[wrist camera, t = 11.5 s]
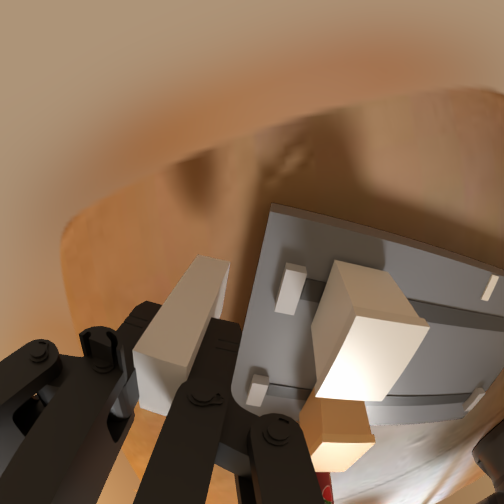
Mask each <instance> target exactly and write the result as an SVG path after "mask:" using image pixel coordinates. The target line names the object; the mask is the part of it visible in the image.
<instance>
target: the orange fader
mask: <svg viewBox="0 0 504 504" xmlns="http://www.w3.org/2000/svg"><path fill="white" fill-rule="evenodd" d="M299 425H300V427H301V429H302V431H303V433H304V437H305V440H306V443H307V446H308V450H309V453H310V456H311V459H312V463H313V466H314V469H315V472H344V471H345V470H347V469H348V468H349V467H350V466H351V465H352V464H354V463H355V462H356V461H357V460H358V459H359V458H360V457H361V456H362V455H363V454H364V453H365V452H367V451H368V450H369V449H370V448H371V447H372V446H373V445H374V444H375V443H376V442H375V437H374V434H371V430H370V425H369V420H368V416H367V411H366V407H365V402H364V401H360V400H345V399H333V398H323V397H315V388H313V390H312V392H311V394H310V396H309V397H308V399H307V401H306V403H305V404H304V406H303V408H302V410H301V411H300V413H299Z"/></svg>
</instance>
